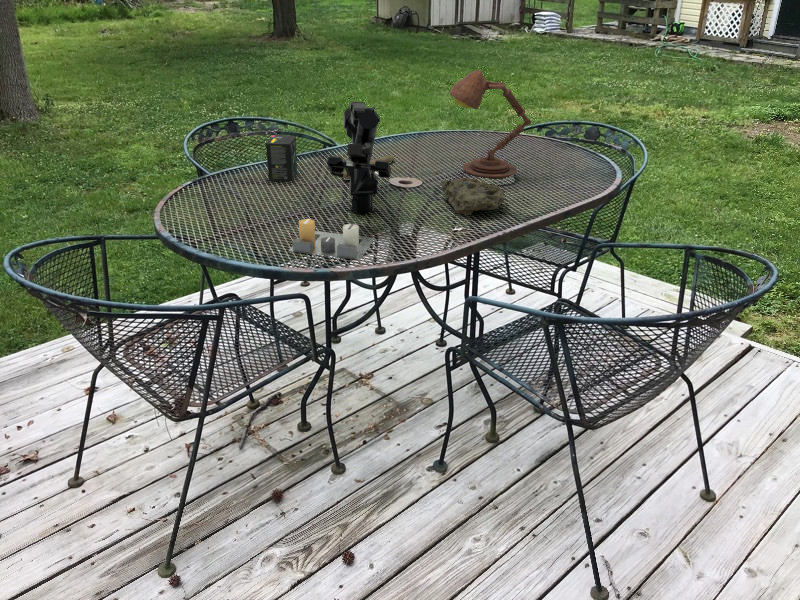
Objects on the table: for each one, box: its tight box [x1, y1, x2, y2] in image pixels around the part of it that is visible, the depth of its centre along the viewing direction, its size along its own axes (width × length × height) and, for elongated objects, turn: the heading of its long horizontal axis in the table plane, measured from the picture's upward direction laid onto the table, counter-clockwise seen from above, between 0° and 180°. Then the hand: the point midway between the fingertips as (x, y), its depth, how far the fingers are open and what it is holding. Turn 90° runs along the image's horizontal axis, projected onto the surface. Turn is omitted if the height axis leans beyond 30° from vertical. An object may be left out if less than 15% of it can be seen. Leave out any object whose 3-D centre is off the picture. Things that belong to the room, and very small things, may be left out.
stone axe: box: [332, 155, 395, 180], centre depth 254 cm, size 26×5×30 cm
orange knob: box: [298, 218, 316, 247], centre depth 185 cm, size 4×4×7 cm
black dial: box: [321, 237, 335, 252], centre depth 184 cm, size 4×4×3 cm
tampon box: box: [265, 135, 298, 183], centre depth 242 cm, size 11×9×15 cm
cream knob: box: [342, 223, 360, 252], centre depth 182 cm, size 4×4×7 cm
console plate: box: [288, 230, 375, 260], centre depth 187 cm, size 16×21×4 cm
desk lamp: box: [449, 69, 532, 179], centre depth 242 cm, size 21×32×40 cm, turn 100°
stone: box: [440, 177, 506, 215], centre depth 221 cm, size 25×19×8 cm
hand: (353, 192), depth 191 cm, fingers closed
